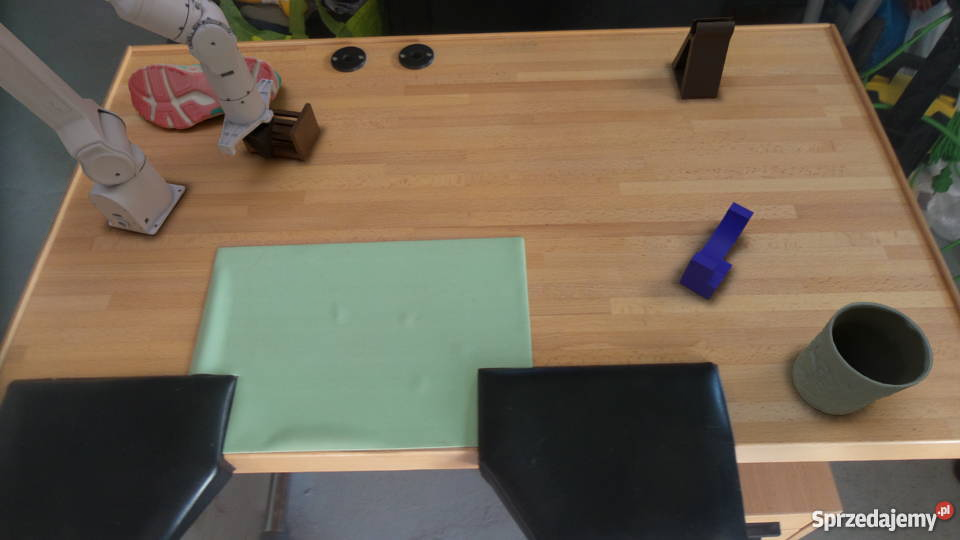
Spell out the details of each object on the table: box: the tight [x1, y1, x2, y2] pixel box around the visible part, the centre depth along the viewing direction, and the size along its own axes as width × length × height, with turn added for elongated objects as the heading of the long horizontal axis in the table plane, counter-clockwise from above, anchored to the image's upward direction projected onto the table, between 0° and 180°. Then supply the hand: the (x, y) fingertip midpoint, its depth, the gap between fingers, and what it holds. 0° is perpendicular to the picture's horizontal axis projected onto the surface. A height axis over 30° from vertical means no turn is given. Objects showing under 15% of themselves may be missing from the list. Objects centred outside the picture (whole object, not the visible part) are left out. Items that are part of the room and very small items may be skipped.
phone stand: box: [670, 16, 736, 99], centre depth 95 cm, size 9×6×12 cm, turn 1°
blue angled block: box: [678, 201, 755, 301], centre depth 78 cm, size 12×4×6 cm, turn 141°
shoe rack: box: [242, 102, 321, 162], centre depth 93 cm, size 7×10×6 cm
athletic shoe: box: [127, 55, 283, 130], centre depth 98 cm, size 27×9×12 cm
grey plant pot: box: [791, 301, 934, 416], centre depth 65 cm, size 10×10×12 cm
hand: (267, 154), depth 92 cm, fingers closed
